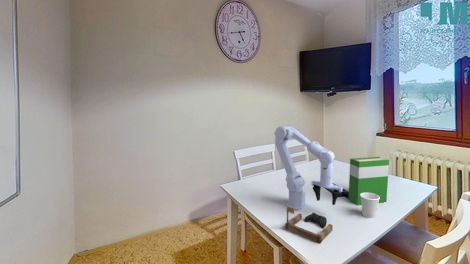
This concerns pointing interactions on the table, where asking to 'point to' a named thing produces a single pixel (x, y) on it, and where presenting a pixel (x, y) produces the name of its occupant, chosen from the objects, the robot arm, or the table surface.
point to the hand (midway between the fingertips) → (325, 202)
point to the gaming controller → (318, 218)
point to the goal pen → (305, 233)
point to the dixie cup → (369, 204)
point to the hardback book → (368, 178)
